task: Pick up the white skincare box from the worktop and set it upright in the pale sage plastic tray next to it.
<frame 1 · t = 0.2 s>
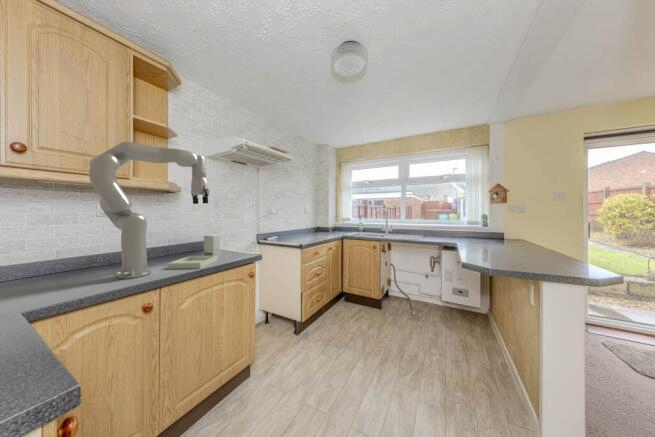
hand: (200, 203, 140), 37 cm above the counter, tool pointing down, fingers open, 9 cm apart
skincare box: (212, 258, 154), on the counter
tray: (194, 264, 136), on the counter
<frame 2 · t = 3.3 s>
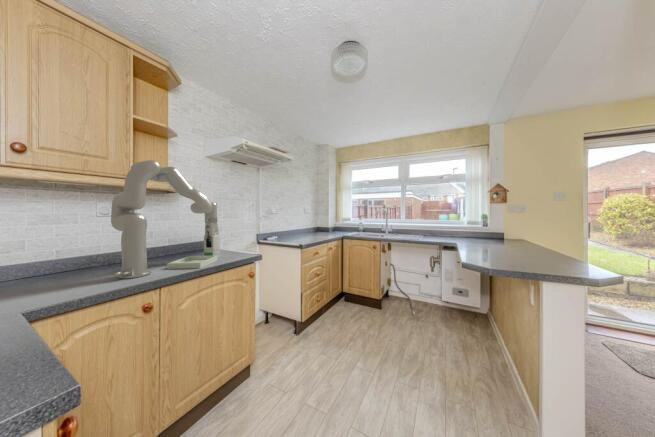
hand: (212, 246, 153), 8 cm above the counter, tool pointing down, fingers closed on skincare box, 7 cm apart
skincare box: (212, 258, 154), on the counter, touching gripper
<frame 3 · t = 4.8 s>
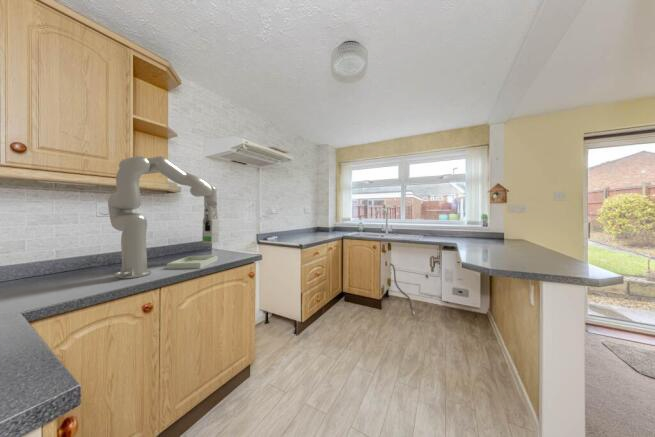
hand: (210, 230, 152), 19 cm above the counter, tool pointing down, fingers closed on skincare box, 7 cm apart
skincare box: (210, 242, 153), point 11 cm above the counter, touching gripper
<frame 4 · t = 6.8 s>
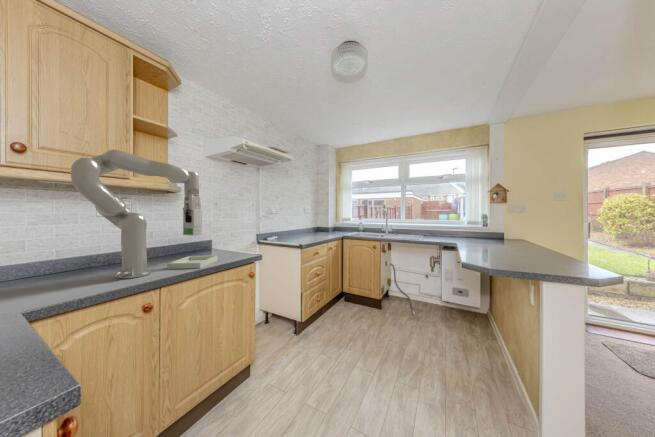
hand: (192, 221, 135), 26 cm above the counter, tool pointing down, fingers closed on skincare box, 7 cm apart
skincare box: (193, 235, 135), point 17 cm above the counter, touching gripper
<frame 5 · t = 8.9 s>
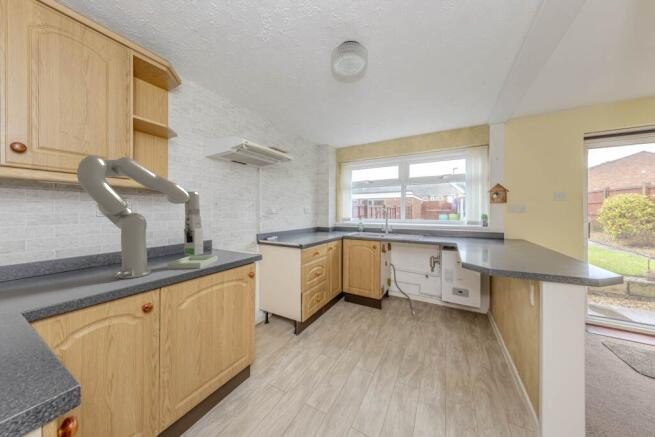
hand: (193, 241, 135), 14 cm above the counter, tool pointing down, fingers closed on skincare box, 7 cm apart
skincare box: (194, 254, 136), point 6 cm above the counter, touching gripper
when the fingers open (10 cm above the counter, at t = 10.4 s): skincare box stays where it is, resting on tray.
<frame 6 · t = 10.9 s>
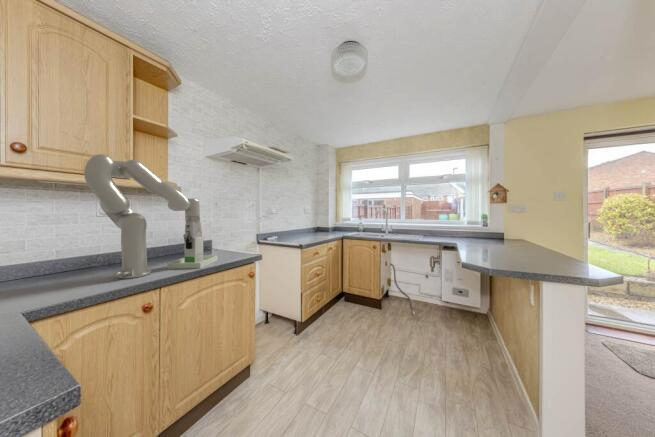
hand: (193, 247, 135), 10 cm above the counter, tool pointing down, fingers open, 9 cm apart
skincare box: (194, 263, 136), point 1 cm above the counter, touching tray
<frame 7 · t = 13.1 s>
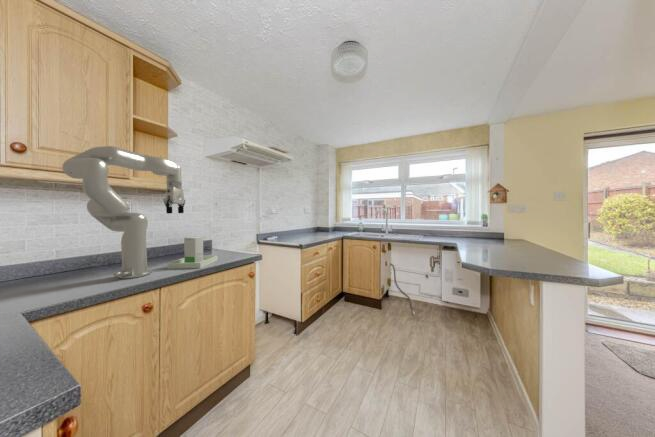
hand: (175, 213, 138), 31 cm above the counter, tool pointing down, fingers open, 9 cm apart
nothing on the counter moved.
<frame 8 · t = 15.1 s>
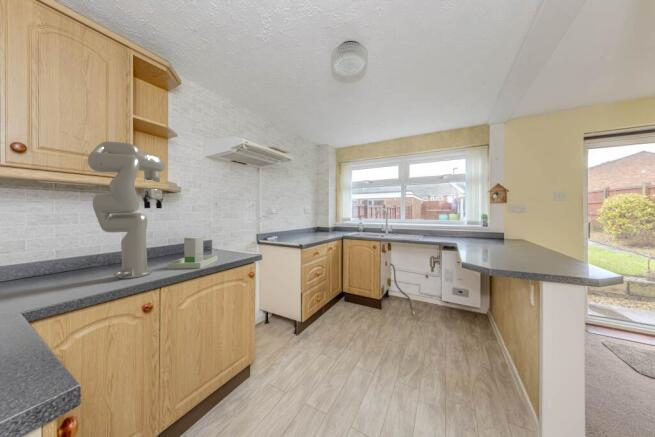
hand: (153, 208, 142), 34 cm above the counter, tool pointing down, fingers open, 9 cm apart
nothing on the counter moved.
at the end: skincare box inside the target area on the tray (0.2 cm from its centre), point 0.6 cm above the tray's base; skincare box tilted 0°; the gripper is holding nothing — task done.
